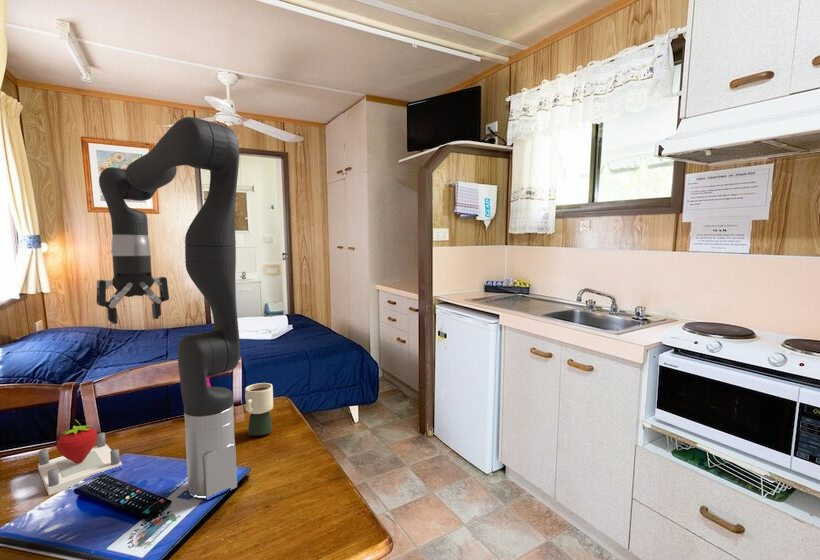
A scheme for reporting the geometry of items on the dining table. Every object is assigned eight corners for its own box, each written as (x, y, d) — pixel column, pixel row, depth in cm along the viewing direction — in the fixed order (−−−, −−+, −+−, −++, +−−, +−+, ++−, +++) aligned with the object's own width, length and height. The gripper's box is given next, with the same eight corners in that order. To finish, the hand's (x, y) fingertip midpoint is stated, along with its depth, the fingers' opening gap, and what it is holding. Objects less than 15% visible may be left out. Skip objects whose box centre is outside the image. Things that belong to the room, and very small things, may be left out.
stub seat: (122, 469, 91) (121, 450, 90) (48, 495, 81) (47, 474, 81) (105, 448, 100) (104, 431, 100) (38, 469, 91) (36, 451, 90)
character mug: (259, 423, 114) (258, 379, 113) (282, 425, 113) (281, 381, 112) (236, 441, 103) (234, 393, 102) (261, 444, 102) (259, 395, 101)
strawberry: (51, 468, 88) (48, 425, 87) (90, 452, 95) (87, 412, 94) (66, 474, 86) (63, 430, 85) (105, 457, 93) (102, 416, 92)
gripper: (98, 254, 87) (103, 327, 88) (170, 253, 97) (173, 318, 99) (90, 254, 92) (95, 323, 93) (159, 253, 102) (163, 315, 104)
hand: (135, 320), depth 96 cm, fingers open, 8 cm apart
